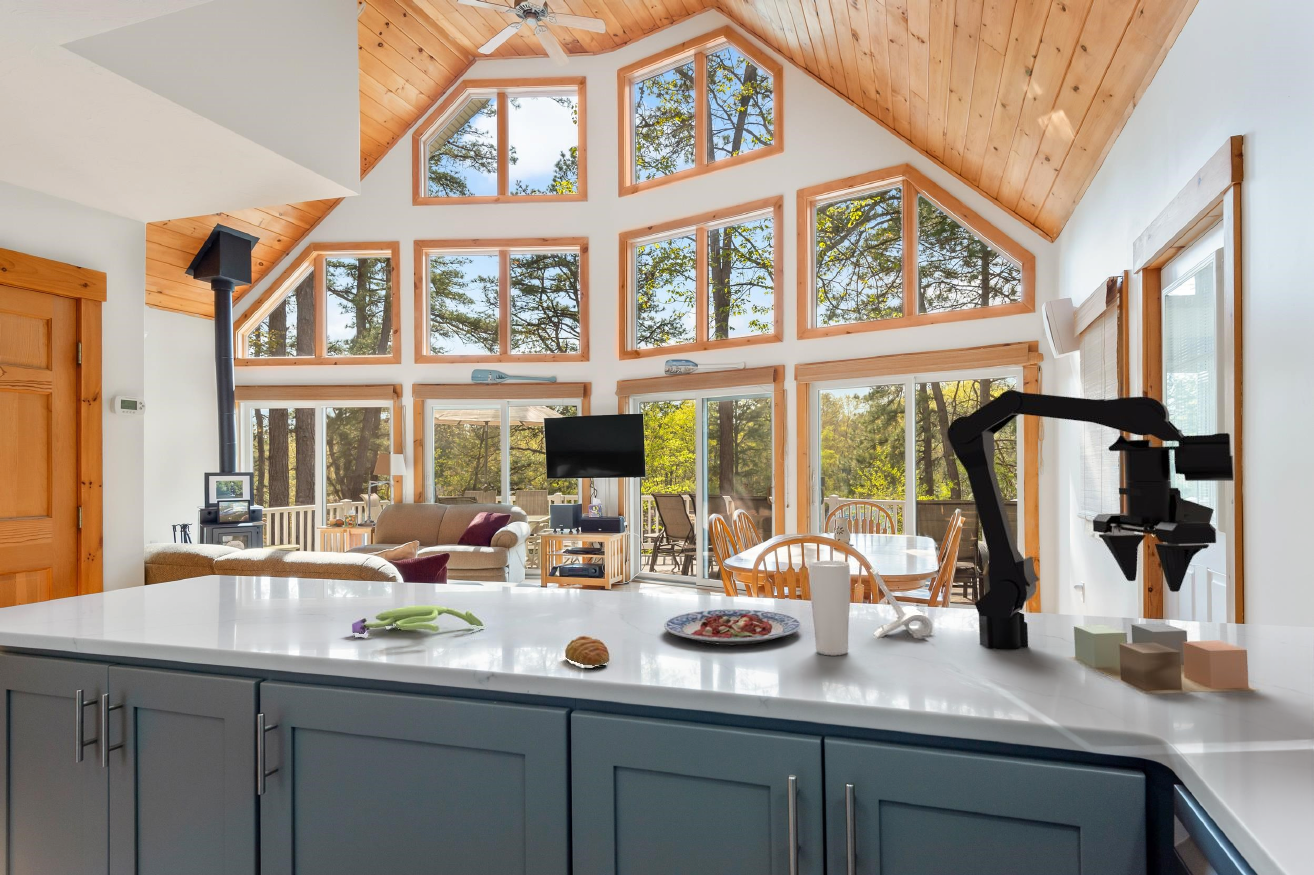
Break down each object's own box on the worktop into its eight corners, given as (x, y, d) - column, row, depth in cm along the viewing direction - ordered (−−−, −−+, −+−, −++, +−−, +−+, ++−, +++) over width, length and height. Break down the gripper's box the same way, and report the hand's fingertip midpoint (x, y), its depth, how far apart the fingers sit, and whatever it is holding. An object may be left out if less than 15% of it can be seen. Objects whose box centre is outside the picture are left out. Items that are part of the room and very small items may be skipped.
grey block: (1155, 665, 110) (1153, 631, 110) (1132, 656, 115) (1131, 624, 115) (1188, 664, 110) (1186, 630, 110) (1164, 655, 115) (1163, 623, 115)
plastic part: (932, 639, 133) (931, 573, 133) (875, 638, 135) (873, 573, 135) (924, 629, 141) (922, 567, 141) (869, 628, 142) (868, 567, 142)
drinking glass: (854, 658, 121) (850, 566, 122) (811, 657, 123) (808, 566, 123) (851, 647, 128) (848, 560, 128) (811, 647, 129) (808, 560, 130)
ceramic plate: (672, 619, 156) (672, 605, 156) (797, 620, 152) (797, 605, 152) (655, 651, 130) (655, 634, 130) (805, 653, 126) (804, 635, 127)
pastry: (619, 667, 120) (618, 644, 120) (580, 674, 117) (579, 650, 117) (598, 654, 129) (597, 632, 129) (561, 660, 126) (560, 638, 126)
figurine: (418, 654, 133) (417, 623, 133) (332, 637, 148) (331, 609, 148) (495, 633, 148) (494, 605, 148) (409, 619, 163) (409, 593, 163)
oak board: (1146, 699, 98) (1146, 693, 98) (1068, 662, 116) (1068, 657, 116) (1258, 695, 98) (1258, 689, 98) (1163, 659, 116) (1163, 654, 116)
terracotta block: (1211, 688, 99) (1209, 650, 99) (1184, 677, 104) (1182, 641, 104) (1248, 687, 99) (1246, 649, 99) (1219, 676, 104) (1217, 640, 104)
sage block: (1094, 667, 110) (1093, 633, 110) (1075, 658, 115) (1073, 626, 115) (1128, 666, 110) (1126, 632, 110) (1107, 657, 115) (1105, 625, 115)
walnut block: (1144, 690, 99) (1143, 653, 99) (1120, 679, 104) (1119, 643, 104) (1182, 689, 99) (1180, 651, 99) (1156, 678, 104) (1154, 642, 104)
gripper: (1252, 481, 102) (1257, 595, 102) (1156, 478, 121) (1160, 574, 120) (1172, 483, 102) (1177, 598, 101) (1089, 479, 120) (1093, 576, 120)
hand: (1152, 586), depth 111 cm, fingers open, 9 cm apart
